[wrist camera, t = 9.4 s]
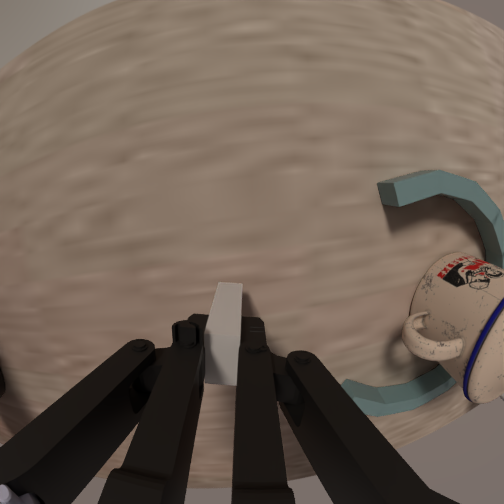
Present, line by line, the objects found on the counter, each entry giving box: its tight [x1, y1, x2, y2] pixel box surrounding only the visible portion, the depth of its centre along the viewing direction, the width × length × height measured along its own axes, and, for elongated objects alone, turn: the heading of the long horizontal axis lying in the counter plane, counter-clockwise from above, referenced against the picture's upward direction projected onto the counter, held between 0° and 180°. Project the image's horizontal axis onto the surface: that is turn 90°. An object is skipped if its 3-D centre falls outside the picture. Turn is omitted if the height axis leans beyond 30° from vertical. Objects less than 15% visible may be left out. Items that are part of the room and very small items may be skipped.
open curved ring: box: [341, 170, 504, 417], centre depth 18 cm, size 16×20×2 cm
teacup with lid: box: [402, 252, 504, 404], centre depth 13 cm, size 12×9×12 cm
